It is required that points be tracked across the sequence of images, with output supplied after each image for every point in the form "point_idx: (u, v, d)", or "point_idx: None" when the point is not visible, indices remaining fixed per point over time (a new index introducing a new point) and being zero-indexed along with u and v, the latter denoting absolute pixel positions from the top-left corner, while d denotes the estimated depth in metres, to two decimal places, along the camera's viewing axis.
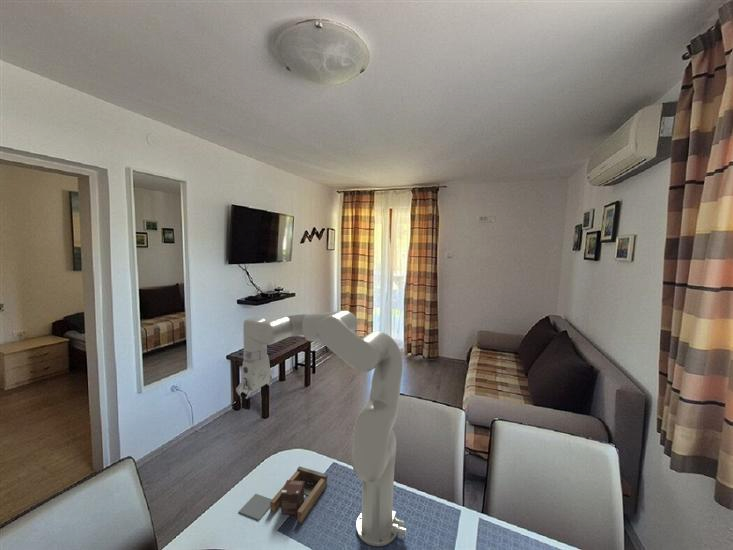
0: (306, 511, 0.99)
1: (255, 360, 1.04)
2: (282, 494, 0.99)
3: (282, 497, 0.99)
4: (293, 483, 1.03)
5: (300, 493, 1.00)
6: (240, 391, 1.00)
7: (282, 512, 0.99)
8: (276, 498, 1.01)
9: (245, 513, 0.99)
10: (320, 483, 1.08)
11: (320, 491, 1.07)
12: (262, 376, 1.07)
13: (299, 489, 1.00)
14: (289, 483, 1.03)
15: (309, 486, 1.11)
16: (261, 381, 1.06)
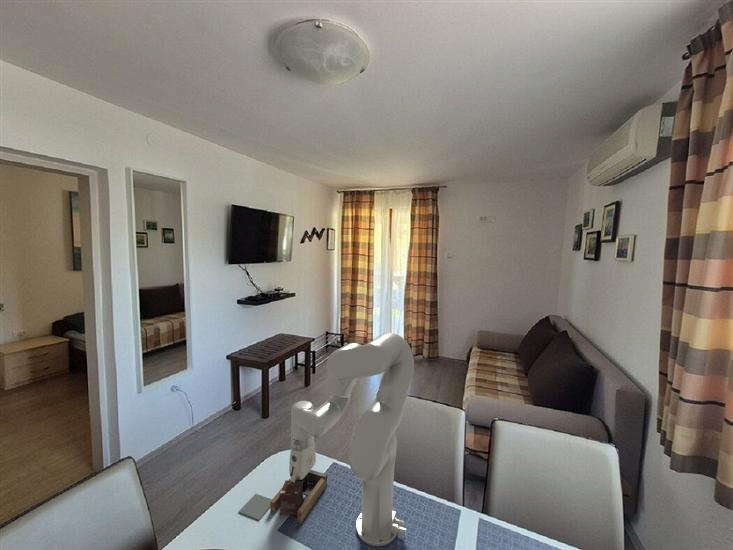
0: (306, 511, 0.99)
1: (303, 448, 1.03)
2: (281, 495, 0.98)
3: (281, 498, 0.98)
4: (292, 483, 1.02)
5: (299, 493, 1.00)
6: (296, 481, 1.03)
7: (281, 513, 0.99)
8: (276, 498, 1.01)
9: (245, 513, 0.99)
10: (320, 483, 1.08)
11: (320, 491, 1.07)
12: (309, 461, 1.06)
13: (298, 489, 1.00)
14: (287, 483, 1.02)
15: (309, 486, 1.11)
16: (308, 467, 1.05)
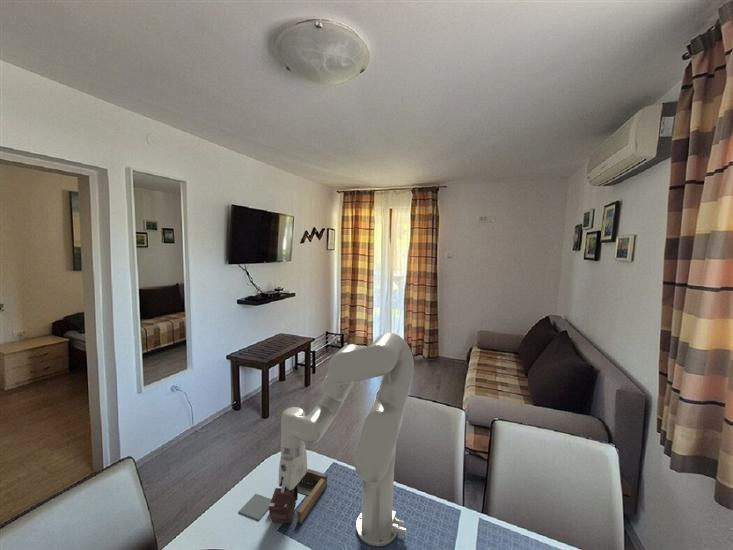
0: (306, 511, 0.99)
1: (293, 457, 0.98)
2: (270, 508, 0.94)
3: (270, 510, 0.94)
4: None
5: (289, 505, 0.95)
6: None
7: (273, 520, 0.96)
8: None
9: (245, 513, 0.99)
10: (320, 483, 1.08)
11: (320, 491, 1.07)
12: (299, 471, 1.01)
13: (288, 501, 0.95)
14: (277, 493, 0.97)
15: (309, 486, 1.11)
16: (298, 477, 1.00)
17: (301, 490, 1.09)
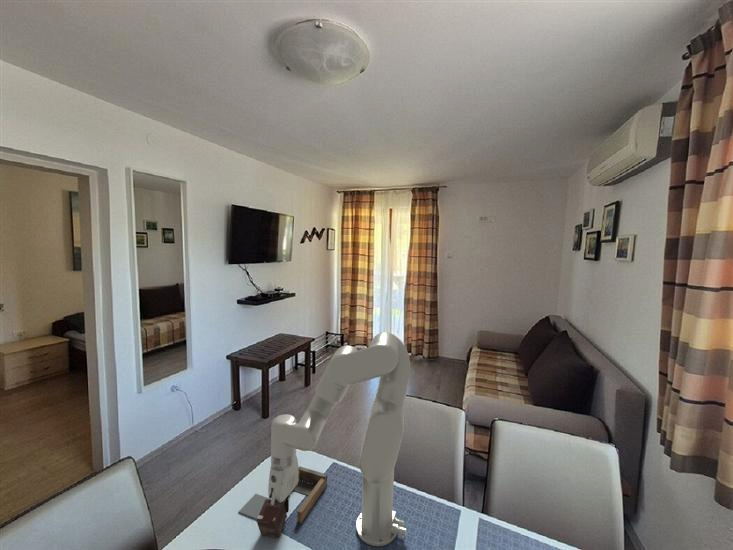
0: (306, 511, 0.99)
1: (284, 467, 0.93)
2: (258, 521, 0.89)
3: (258, 523, 0.90)
4: None
5: (278, 519, 0.90)
6: None
7: (261, 533, 0.92)
8: None
9: (245, 513, 0.99)
10: (320, 483, 1.08)
11: (320, 491, 1.07)
12: (291, 481, 0.96)
13: (277, 515, 0.90)
14: (267, 504, 0.93)
15: (309, 486, 1.11)
16: (289, 488, 0.96)
17: (301, 490, 1.09)
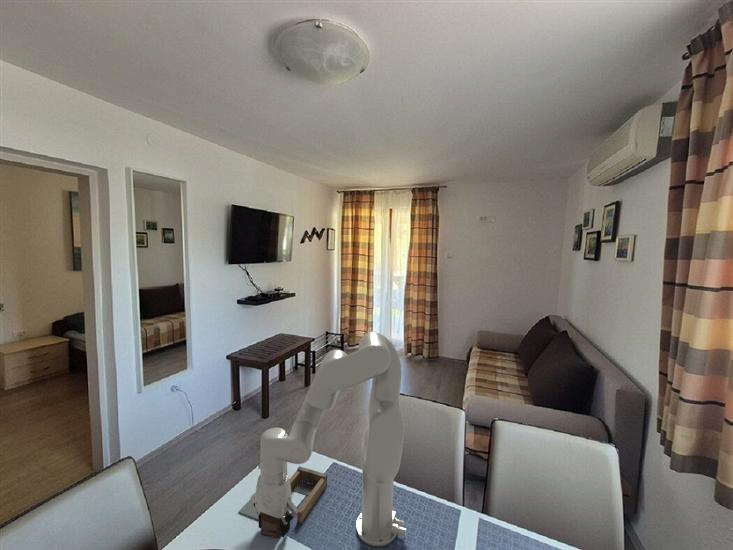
0: (306, 511, 0.99)
1: (260, 478, 0.90)
2: (262, 513, 0.91)
3: (262, 516, 0.91)
4: None
5: None
6: (252, 500, 0.94)
7: (262, 533, 0.92)
8: None
9: (245, 513, 0.99)
10: (320, 483, 1.08)
11: (320, 491, 1.07)
12: (268, 503, 0.90)
13: None
14: None
15: (309, 486, 1.11)
16: (266, 507, 0.90)
17: (301, 490, 1.09)
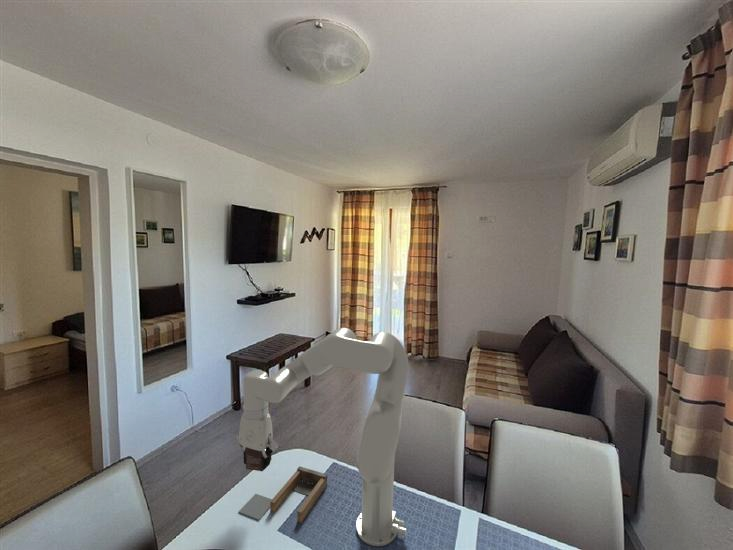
0: (306, 511, 0.99)
1: (243, 415, 0.98)
2: (246, 449, 0.99)
3: (246, 452, 0.99)
4: None
5: None
6: (238, 439, 1.02)
7: (247, 467, 1.00)
8: (276, 498, 1.01)
9: (245, 513, 0.99)
10: (320, 483, 1.08)
11: (320, 491, 1.07)
12: (251, 438, 0.97)
13: None
14: None
15: (309, 486, 1.11)
16: (249, 442, 0.98)
17: (301, 490, 1.09)
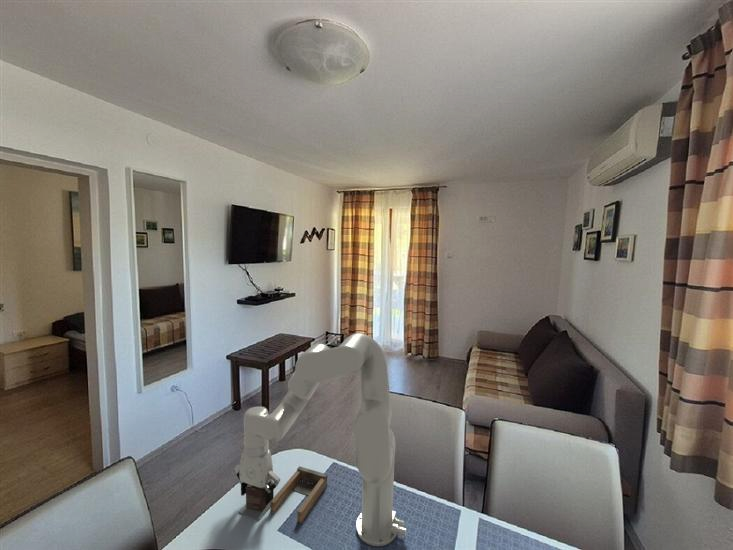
0: (306, 511, 0.99)
1: (244, 452, 0.99)
2: (247, 488, 1.00)
3: (247, 491, 1.00)
4: None
5: (265, 489, 1.01)
6: (236, 470, 1.03)
7: (247, 506, 1.01)
8: (276, 498, 1.01)
9: (245, 513, 0.99)
10: (320, 483, 1.08)
11: (320, 491, 1.07)
12: (251, 474, 0.98)
13: None
14: None
15: (309, 486, 1.11)
16: (249, 478, 0.99)
17: (301, 490, 1.09)
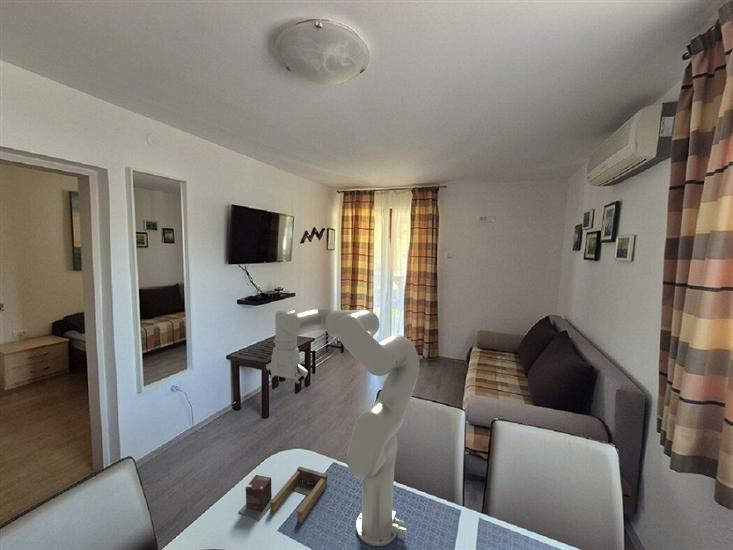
0: (306, 511, 0.99)
1: (275, 347, 1.11)
2: (247, 488, 1.00)
3: (247, 491, 1.00)
4: (260, 478, 1.04)
5: (264, 489, 1.01)
6: (267, 368, 1.15)
7: (247, 506, 1.01)
8: (276, 498, 1.01)
9: (245, 513, 0.99)
10: (320, 483, 1.08)
11: (320, 491, 1.07)
12: (282, 367, 1.10)
13: (264, 485, 1.01)
14: (256, 478, 1.04)
15: (309, 486, 1.11)
16: (280, 371, 1.10)
17: (301, 490, 1.09)
